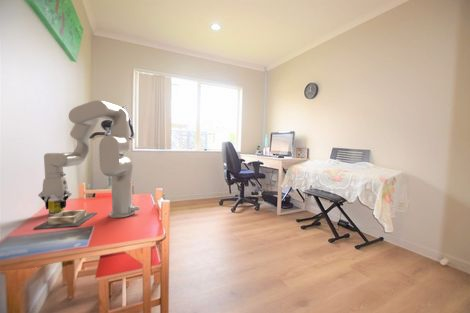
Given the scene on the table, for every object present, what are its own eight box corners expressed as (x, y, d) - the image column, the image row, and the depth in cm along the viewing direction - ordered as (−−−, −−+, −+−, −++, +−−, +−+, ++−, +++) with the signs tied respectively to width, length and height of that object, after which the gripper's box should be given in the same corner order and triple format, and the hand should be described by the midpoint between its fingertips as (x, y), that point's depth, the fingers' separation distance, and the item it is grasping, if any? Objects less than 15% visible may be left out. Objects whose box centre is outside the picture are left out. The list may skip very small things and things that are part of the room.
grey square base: (96, 213, 114) (96, 207, 114) (78, 226, 97) (77, 219, 96) (59, 215, 111) (59, 209, 111) (33, 229, 93) (33, 221, 93)
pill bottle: (55, 215, 111) (53, 195, 110) (45, 215, 112) (44, 194, 111) (66, 212, 117) (65, 192, 116) (57, 211, 118) (56, 192, 117)
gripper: (76, 174, 118) (77, 205, 119) (41, 175, 115) (43, 206, 116) (68, 176, 111) (69, 209, 112) (30, 177, 108) (32, 211, 109)
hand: (56, 207), depth 114 cm, fingers open, 6 cm apart
